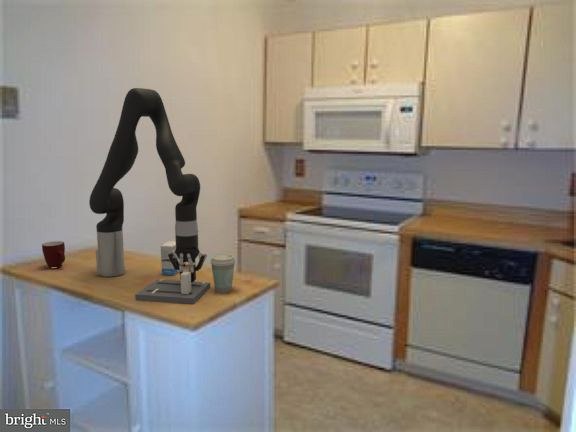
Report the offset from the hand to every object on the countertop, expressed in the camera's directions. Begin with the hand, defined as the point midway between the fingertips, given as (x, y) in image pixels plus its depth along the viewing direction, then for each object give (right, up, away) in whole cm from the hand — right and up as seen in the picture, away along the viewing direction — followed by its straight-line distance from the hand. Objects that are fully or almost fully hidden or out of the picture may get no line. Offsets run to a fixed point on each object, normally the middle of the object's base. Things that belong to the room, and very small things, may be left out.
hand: (188, 281), depth 154 cm
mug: (-59, +1, +26) cm, 65 cm away
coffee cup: (+12, -3, +1) cm, 13 cm away
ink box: (-11, 0, +21) cm, 24 cm away
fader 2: (+1, -2, -8) cm, 8 cm away
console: (-4, -4, -3) cm, 6 cm away
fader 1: (0, -1, 0) cm, 1 cm away
